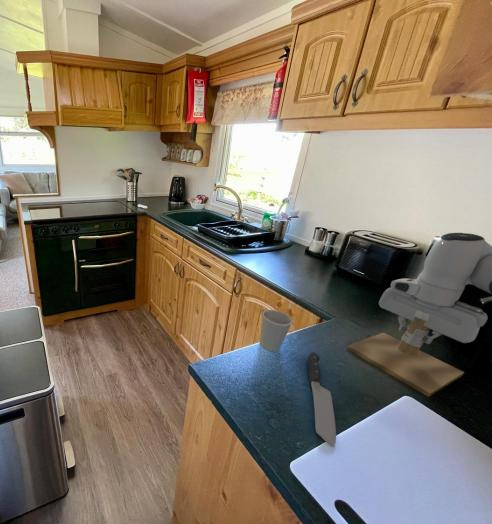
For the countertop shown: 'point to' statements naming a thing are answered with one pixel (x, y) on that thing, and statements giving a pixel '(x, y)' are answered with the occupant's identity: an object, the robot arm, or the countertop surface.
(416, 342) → the sprinkles bottle
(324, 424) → the kitchen knife
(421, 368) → the maple board
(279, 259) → the countertop surface
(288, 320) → the dixie cup
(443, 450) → the countertop surface
